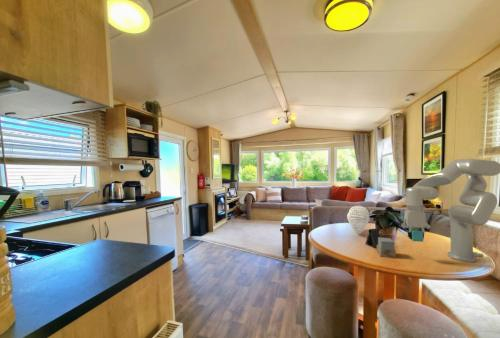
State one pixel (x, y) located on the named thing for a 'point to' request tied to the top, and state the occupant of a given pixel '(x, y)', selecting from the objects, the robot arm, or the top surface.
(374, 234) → the door stopper
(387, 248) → the grey squat block
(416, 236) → the teal block
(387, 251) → the grey square block
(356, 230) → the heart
